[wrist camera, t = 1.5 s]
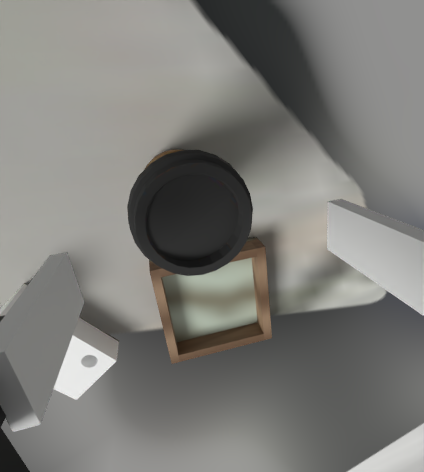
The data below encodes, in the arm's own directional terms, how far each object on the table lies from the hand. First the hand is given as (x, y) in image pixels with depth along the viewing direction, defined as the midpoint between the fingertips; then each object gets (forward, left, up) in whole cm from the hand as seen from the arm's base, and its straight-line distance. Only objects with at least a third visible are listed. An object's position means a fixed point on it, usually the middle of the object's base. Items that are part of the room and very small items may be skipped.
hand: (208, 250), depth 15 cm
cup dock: (+15, +2, -19) cm, 24 cm away
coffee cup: (0, 0, -19) cm, 19 cm away
